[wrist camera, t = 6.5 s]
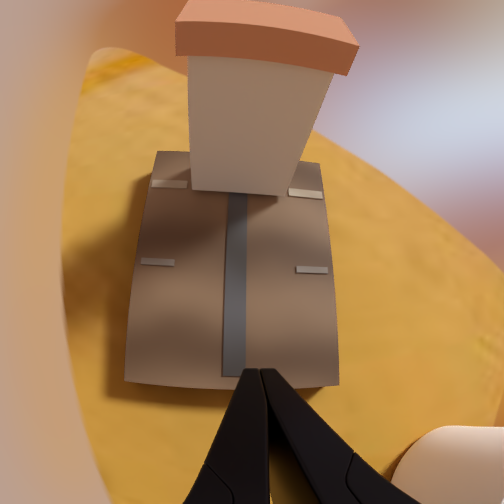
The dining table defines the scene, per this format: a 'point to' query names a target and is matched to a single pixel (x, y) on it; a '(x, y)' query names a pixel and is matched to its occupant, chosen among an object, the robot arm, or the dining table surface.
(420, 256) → the dining table surface
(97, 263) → the dining table surface
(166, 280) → the fader console
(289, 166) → the fader tab
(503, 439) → the mug
